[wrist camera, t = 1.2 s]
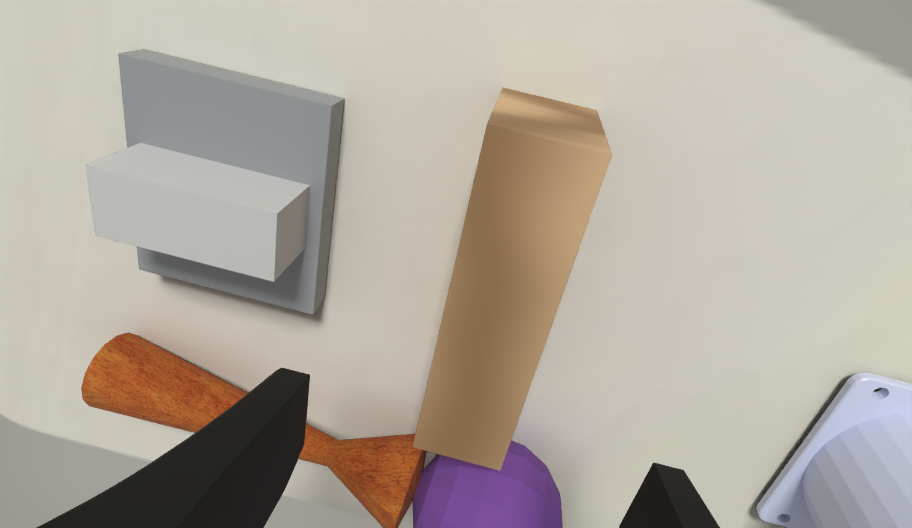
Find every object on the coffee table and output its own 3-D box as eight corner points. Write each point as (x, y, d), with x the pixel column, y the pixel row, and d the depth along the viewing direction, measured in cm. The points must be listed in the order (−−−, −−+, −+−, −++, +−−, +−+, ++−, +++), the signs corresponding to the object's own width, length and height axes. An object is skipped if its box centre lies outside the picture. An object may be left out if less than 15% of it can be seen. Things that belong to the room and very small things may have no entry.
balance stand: (344, 98, 18) (299, 124, 15) (324, 298, 22) (284, 354, 19) (143, 49, 18) (55, 64, 15) (158, 255, 22) (91, 303, 19)
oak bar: (596, 109, 17) (612, 154, 13) (510, 374, 22) (500, 471, 18) (503, 86, 17) (487, 124, 13) (439, 356, 23) (412, 447, 18)
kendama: (57, 336, 20) (587, 538, 18) (168, 286, 25) (580, 436, 24) (48, 467, 22) (529, 660, 20) (154, 392, 27) (535, 538, 26)
